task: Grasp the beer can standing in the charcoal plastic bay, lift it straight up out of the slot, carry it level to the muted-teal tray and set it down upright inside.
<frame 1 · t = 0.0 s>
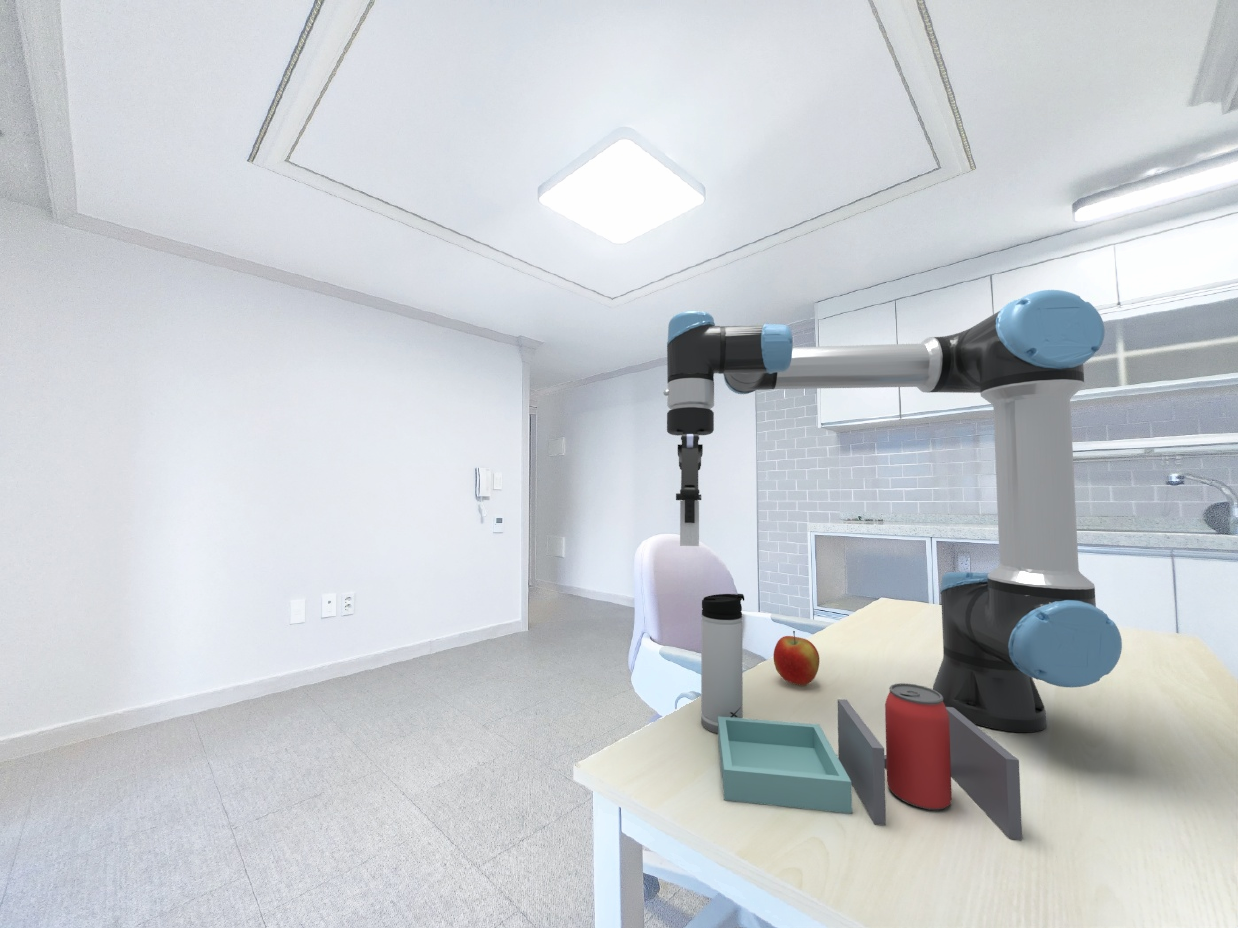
hand: (689, 541, 77), 28 cm above the table, fingers open, 13 cm apart
beer can: (918, 796, 58), on the table
tray: (776, 772, 62), on the table
travel mug: (722, 726, 75), on the table
apple: (796, 684, 92), on the table
bay: (918, 794, 58), on the table
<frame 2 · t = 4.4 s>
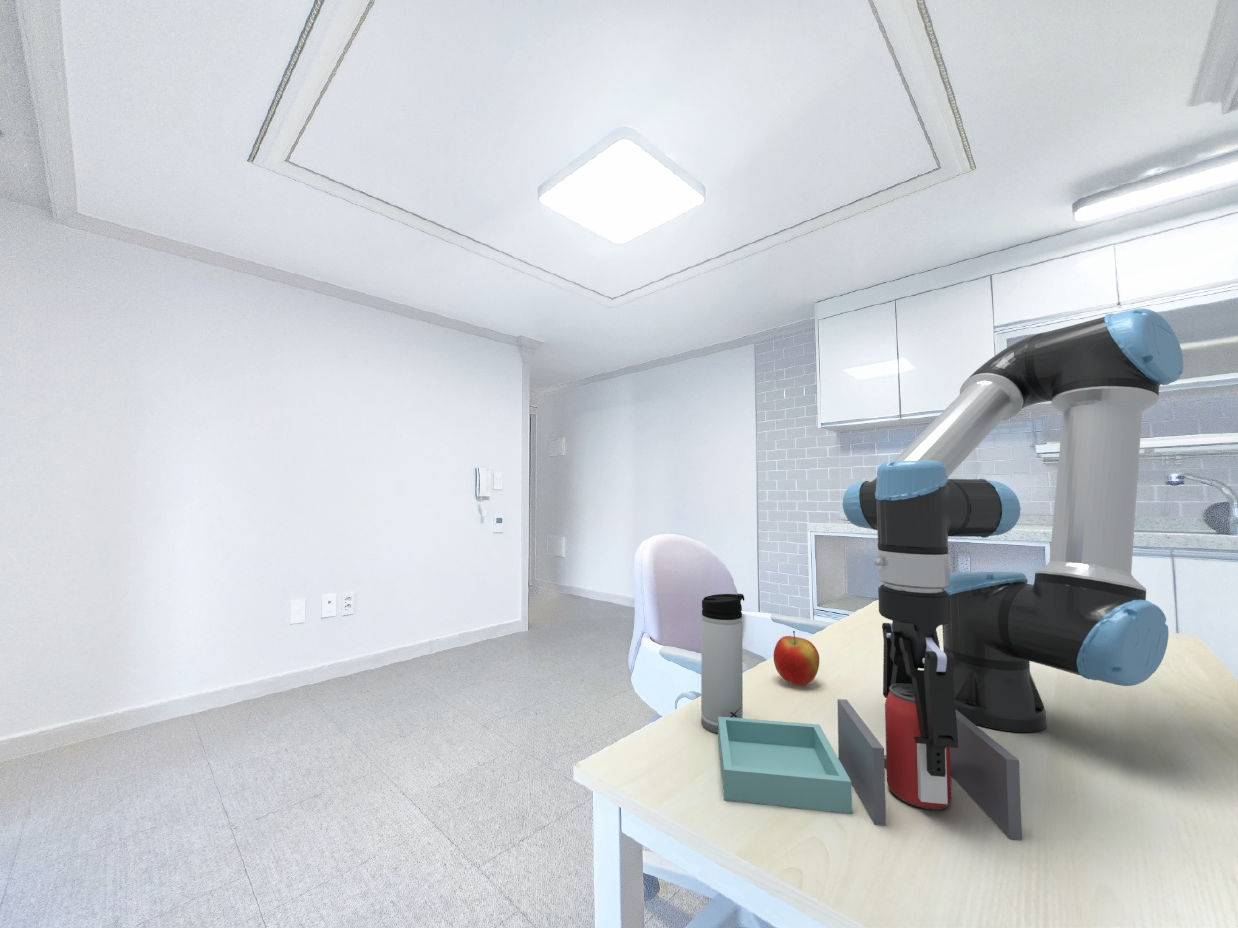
hand: (917, 781, 58), 1 cm above the table, fingers closed on beer can, 6 cm apart
beer can: (918, 796, 58), on the table, touching gripper
everything else where it was.
when the fingers open (4 cm above the table, at t = 11.2 s): beer can drops 2 cm, resting on tray.
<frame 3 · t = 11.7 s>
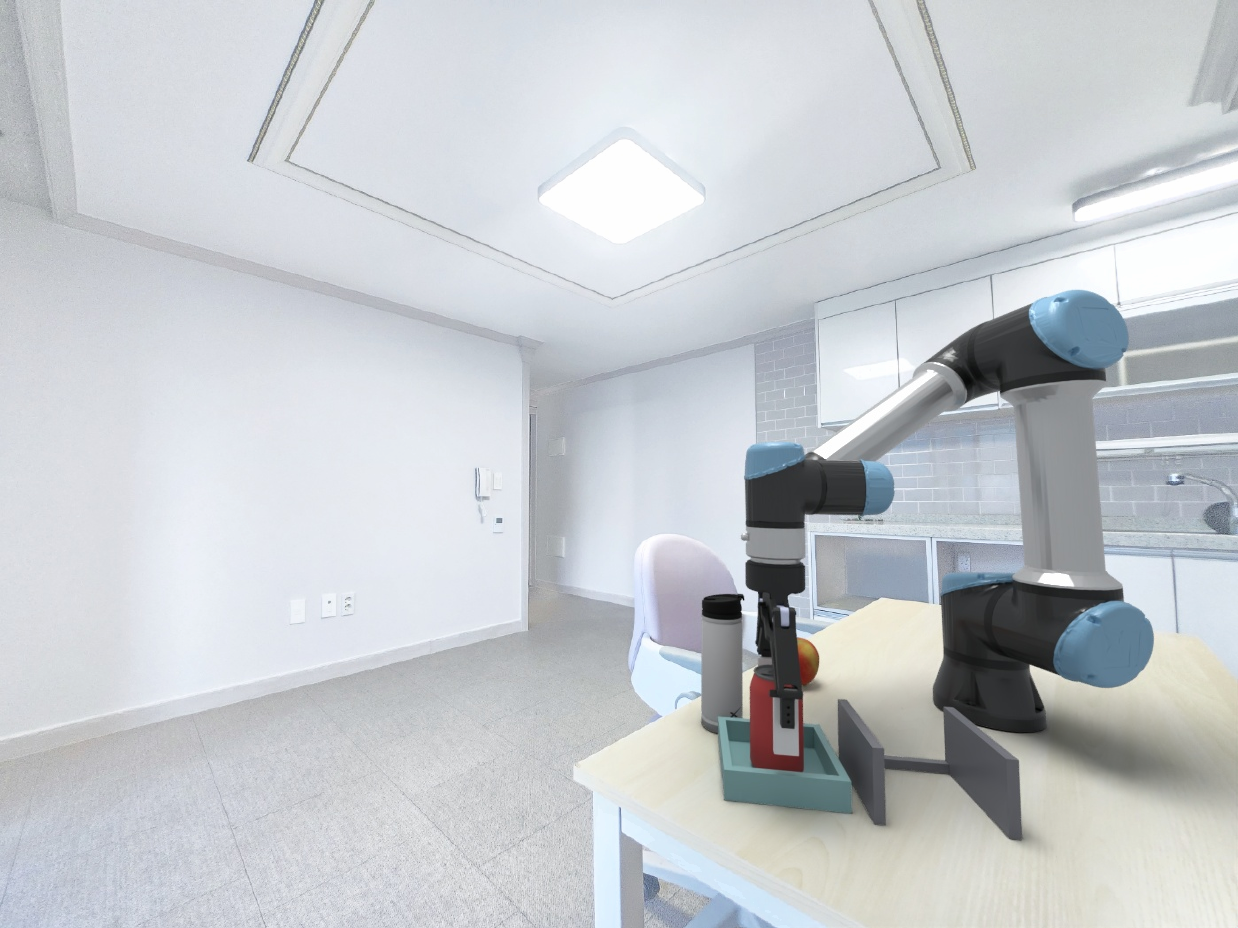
hand: (776, 726, 63), 6 cm above the table, fingers open, 13 cm apart
beer can: (776, 769, 62), resting on tray
everything else where it was.
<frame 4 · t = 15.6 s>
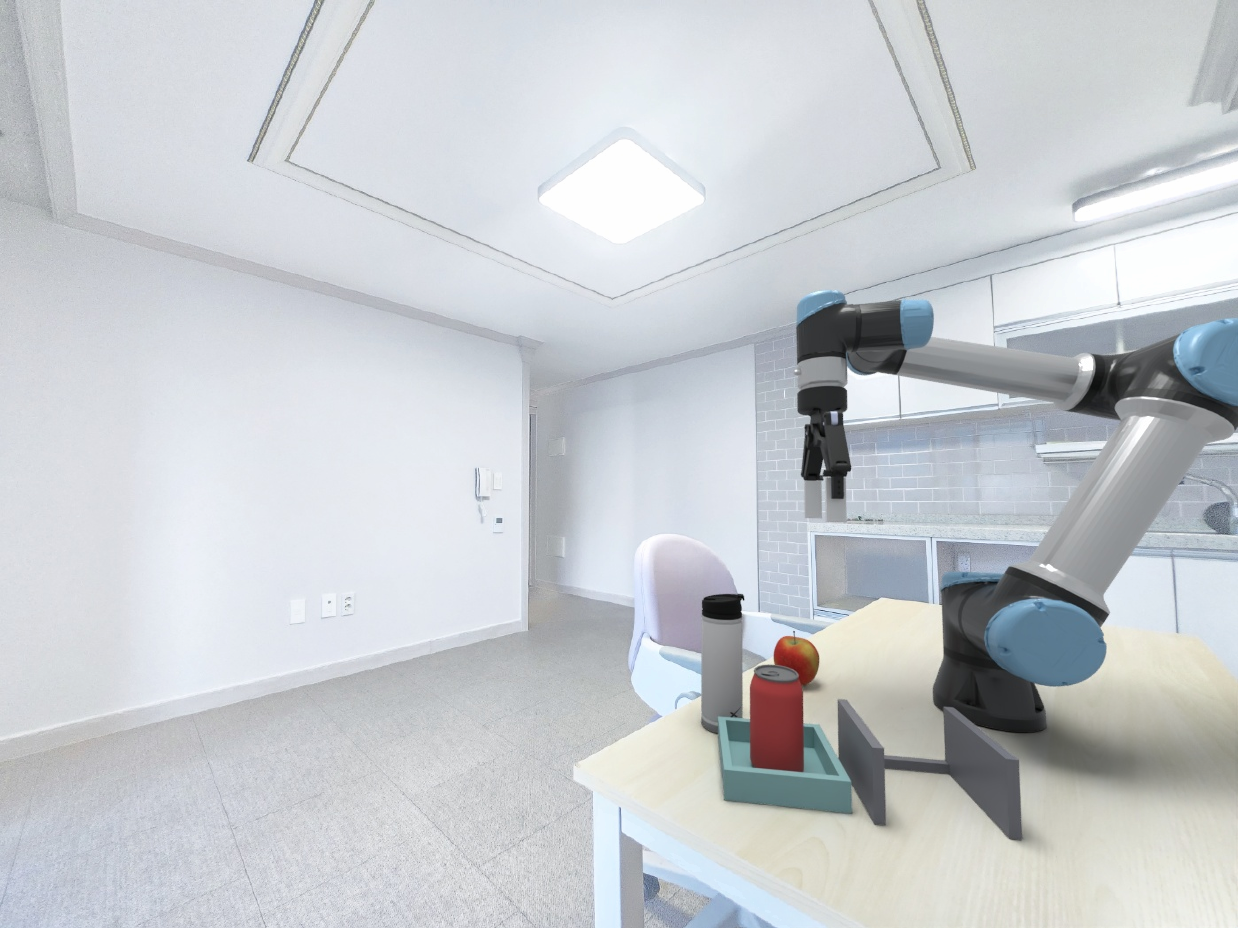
hand: (823, 520, 78), 32 cm above the table, fingers open, 13 cm apart
nothing on the table moved.
at the end: beer can inside the target area on the tray (0.0 cm from its centre), point 0.4 cm above the tray's base; beer can tilted 0°; the gripper is holding nothing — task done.
